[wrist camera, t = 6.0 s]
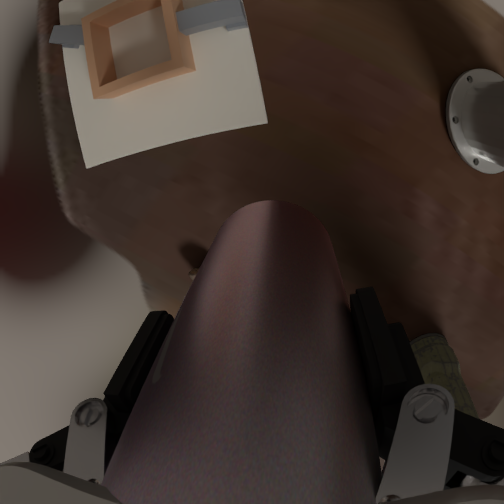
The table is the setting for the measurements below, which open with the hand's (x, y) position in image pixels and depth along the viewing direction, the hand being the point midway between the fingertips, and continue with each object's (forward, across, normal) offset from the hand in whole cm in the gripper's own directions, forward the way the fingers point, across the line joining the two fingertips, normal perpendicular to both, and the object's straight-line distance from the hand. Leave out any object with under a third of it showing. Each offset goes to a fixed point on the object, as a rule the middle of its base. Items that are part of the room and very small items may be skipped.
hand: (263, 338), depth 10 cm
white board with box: (+24, +11, -18) cm, 32 cm away
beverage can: (+7, 0, 0) cm, 7 cm away
